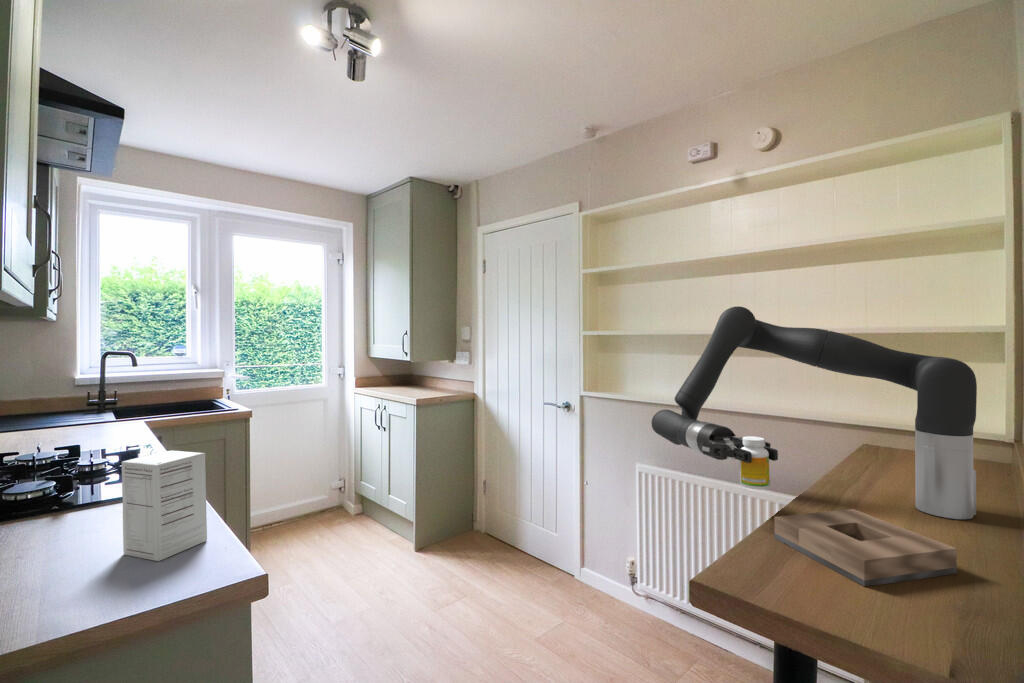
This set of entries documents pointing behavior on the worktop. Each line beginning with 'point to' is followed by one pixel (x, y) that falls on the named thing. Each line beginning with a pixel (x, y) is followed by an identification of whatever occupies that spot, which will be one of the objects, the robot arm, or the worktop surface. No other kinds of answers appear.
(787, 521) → the socket block
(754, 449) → the supplement bottle
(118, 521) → the worktop surface
